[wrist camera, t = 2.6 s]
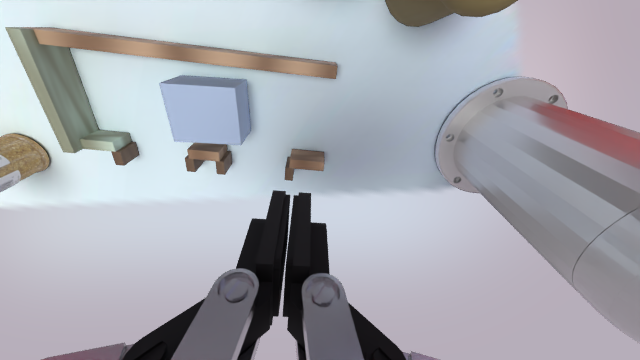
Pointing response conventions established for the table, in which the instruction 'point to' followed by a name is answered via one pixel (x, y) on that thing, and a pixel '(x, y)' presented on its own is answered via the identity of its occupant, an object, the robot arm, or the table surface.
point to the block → (207, 109)
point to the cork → (441, 9)
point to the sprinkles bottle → (19, 159)
